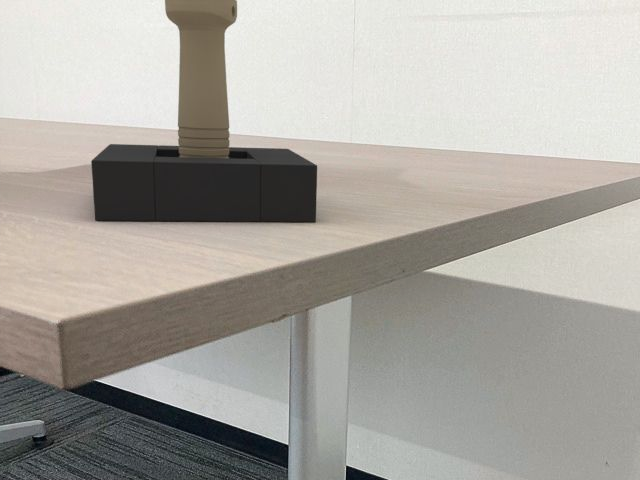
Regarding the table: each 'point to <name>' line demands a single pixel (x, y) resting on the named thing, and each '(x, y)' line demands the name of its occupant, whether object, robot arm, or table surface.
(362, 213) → the table surface
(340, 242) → the table surface
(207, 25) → the handle
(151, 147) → the black slotted base
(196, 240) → the table surface
